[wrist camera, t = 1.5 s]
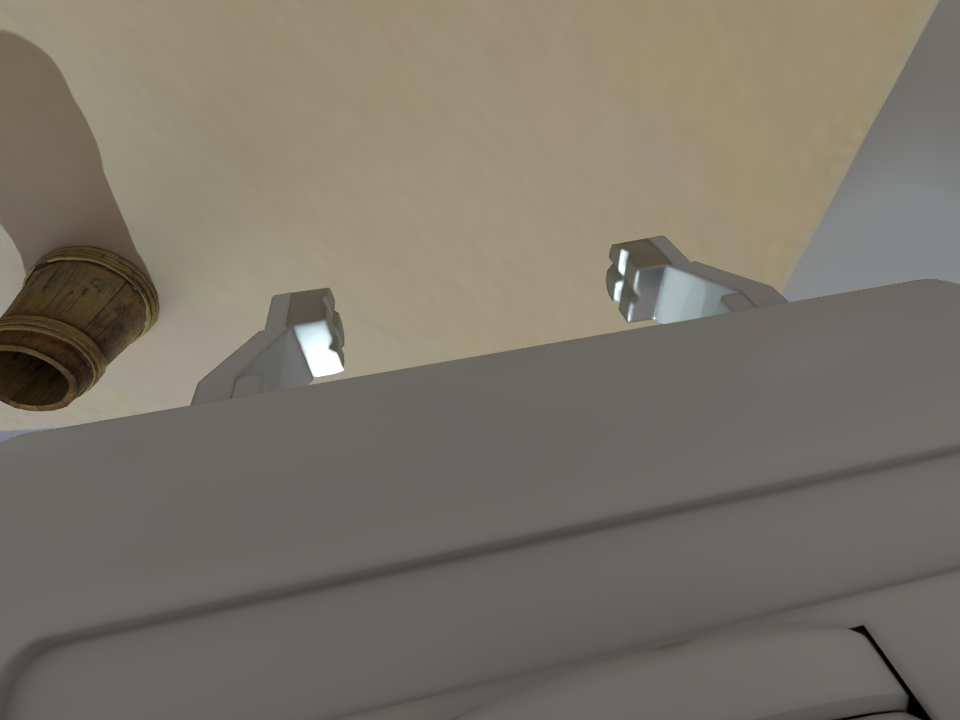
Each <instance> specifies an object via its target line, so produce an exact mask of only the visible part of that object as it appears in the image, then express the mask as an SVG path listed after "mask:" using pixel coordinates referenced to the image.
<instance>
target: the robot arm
mask: <svg viewBox="0 0 960 720" xmlns="http://www.w3.org/2000/svg"><path fill="white" fill-rule="evenodd" d="M609 258H610V260H611V261H612V263H613V264H612V265H611V267H610V268H609V269H608V270H607V276H606V284H607V290H608V293H609V296H610V297H611V299H612V300H613V301H614V302H617V303H619V311H620V312H621V314H622V315H623V317H624V318H625V320H626V321H627V323H631V322H638V321H645V320H652V319H655V320H656V321H657V322H659V323H661V324H660V325H655V326H649V327H643V328H637V329H632V330H626V331H620V332H614V333H608V334H603V335H597V336H591V337H585V338H579V339H574V340H568V341H562V342H556V343H551V344H545V345H539V346H533V347H527V348H522V349H516V350H510V351H504V352H498V353H493V354H487V355H481V356H475V357H469V358H464V359H458V360H452V361H446V362H441V363H435V364H429V365H423V366H417V367H412V368H406V369H400V370H394V371H388V372H383V373H377V374H371V375H365V376H359V377H354V378H348V379H342V380H336V381H331V382H325V383H319V384H313V385H309V384H310V383H311V381H312V380H313V377H318V376H323V375H329V374H334V373H339V372H344V354H343V351H342V347H343V346H344V331H343V326H342V322H341V318H340V315H339V313H338V312H336V311H335V310H334V309H335V300H334V297H333V294H332V291H331V289H330V288H322V289H315V290H308V291H300V292H293V293H285V294H279V295H274V296H273V297H272V300H271V304H270V309H269V313H268V317H267V322H266V326H265V330H263V331H259V332H258V333H257V334H255V335H254V336H253V337H252V338H251V339H249V340H248V341H247V342H246V343H245V344H243V345H242V346H241V347H240V348H239V349H238V350H236V351H235V352H234V353H233V354H232V355H230V356H229V357H228V358H227V359H226V360H224V361H223V362H222V363H221V364H220V365H218V366H217V367H216V368H215V369H214V370H213V371H211V372H210V373H209V374H208V375H207V376H205V377H204V378H203V379H202V380H201V381H199V382H198V384H197V387H196V390H195V393H194V396H193V399H192V402H191V405H190V406H185V407H180V408H174V409H168V410H162V411H156V412H151V413H145V414H139V415H133V416H127V417H122V418H116V419H110V420H104V421H98V422H93V423H87V424H81V425H75V426H69V427H63V428H56V429H50V430H43V431H37V432H31V433H26V434H22V435H18V436H15V437H12V438H9V439H7V440H5V441H3V442H1V443H0V720H960V284H956V283H952V282H947V281H942V280H937V279H922V280H914V281H909V282H903V283H898V284H893V285H887V286H881V287H876V288H870V289H863V290H858V291H852V292H846V293H840V294H835V295H829V296H823V297H817V298H812V299H806V300H800V301H794V302H788V301H787V300H786V299H785V298H784V297H783V296H782V295H780V294H779V293H778V292H777V291H776V290H775V289H774V288H773V287H771V286H768V285H765V284H762V283H759V282H756V281H753V280H750V279H747V278H744V277H741V276H738V275H735V274H732V273H729V272H726V271H723V270H720V269H717V268H714V267H711V266H708V265H705V264H702V263H699V262H696V261H694V262H690V261H689V260H688V259H687V258H686V257H685V256H684V255H683V254H682V253H681V252H680V251H679V250H678V249H677V248H676V247H675V246H674V245H673V244H672V243H671V242H670V241H669V240H668V239H667V238H666V237H665V236H656V237H651V238H646V239H641V240H635V241H630V242H624V243H619V244H613V245H612V247H611V249H610V254H609Z"/></svg>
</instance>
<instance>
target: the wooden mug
mask: <svg viewBox="0 0 960 720" xmlns="http://www.w3.org/2000/svg"><path fill="white" fill-rule="evenodd" d="M158 312H159V305H158V298H157V296H156V293H155V291H154V288H153V286H152V285H151V284H150V282H149V281H148V280H147V278H146V277H145V276H144V275H143V274H142V273H141V272H140V271H139V270H138V269H136V268H135V267H134V266H133V265H132V264H130V263H129V262H127V261H125V260H123V259H122V258H120V257H118V256H117V255H115V254H112V253H109V252H107V251H104V250H101V249H98V248H90V247H83V246H82V247H67V248H62V249H58V250H55V251H52V252H50V253H48V254H47V255H45V256H43V257H41V258H40V259H39V260H38V262H37V263H36V264H35V265H34V267H33V268H32V269H31V270H30V272H29V273H28V275H27V276H26V278H25V279H24V282H23V287H22V290H21V291H20V293H19V294H18V295H17V297H16V298H15V300H14V301H13V302H12V304H11V305H10V306H9V308H8V309H7V311H6V312H5V313H4V314H3V316H2V317H1V318H0V401H2V402H4V403H6V404H8V405H10V406H12V407H15V408H18V409H23V410H28V411H52V410H57V409H60V408H64V407H67V406H68V405H69V404H70V403H71V402H72V401H73V400H74V399H76V398H79V397H82V396H83V395H84V394H85V393H86V392H88V391H89V390H90V389H91V388H92V387H93V386H94V385H95V384H96V383H97V382H98V381H99V379H100V378H101V377H102V375H103V374H104V373H105V369H106V366H107V365H109V364H110V363H111V362H112V361H113V360H114V359H115V358H116V357H117V356H118V355H119V354H120V353H121V352H122V351H123V350H124V349H125V348H126V347H127V346H129V345H130V344H132V343H133V342H135V341H136V340H138V339H139V338H140V337H142V336H143V335H144V334H145V333H146V332H147V331H149V330H150V328H151V327H152V326H153V325H154V323H155V322H156V321H157V317H158Z"/></svg>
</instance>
